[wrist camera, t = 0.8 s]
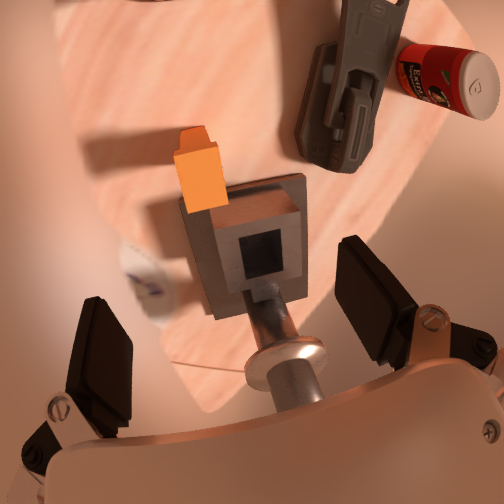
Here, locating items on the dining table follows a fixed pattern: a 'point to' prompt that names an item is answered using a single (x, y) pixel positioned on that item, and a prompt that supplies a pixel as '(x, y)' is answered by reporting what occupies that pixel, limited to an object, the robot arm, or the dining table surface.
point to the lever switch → (262, 280)
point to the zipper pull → (349, 85)
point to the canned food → (450, 78)
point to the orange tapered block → (200, 171)
